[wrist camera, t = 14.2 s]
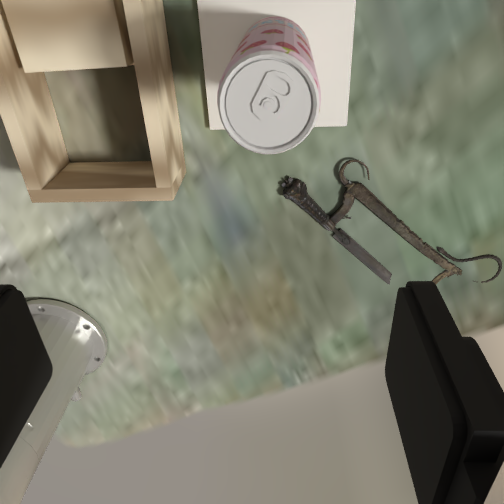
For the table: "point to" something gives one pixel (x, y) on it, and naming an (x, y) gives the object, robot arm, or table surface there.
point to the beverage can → (270, 88)
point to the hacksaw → (300, 196)
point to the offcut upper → (69, 34)
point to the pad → (312, 23)
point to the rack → (50, 137)
